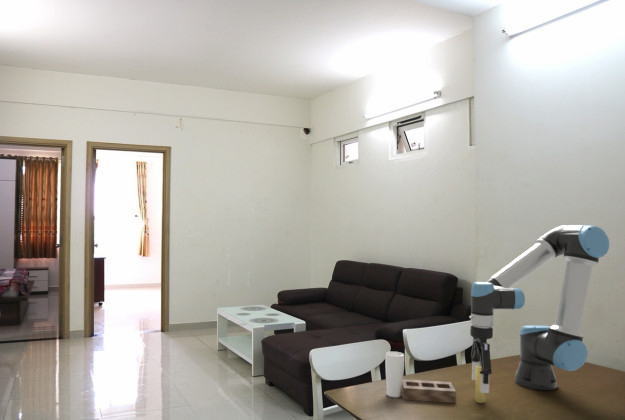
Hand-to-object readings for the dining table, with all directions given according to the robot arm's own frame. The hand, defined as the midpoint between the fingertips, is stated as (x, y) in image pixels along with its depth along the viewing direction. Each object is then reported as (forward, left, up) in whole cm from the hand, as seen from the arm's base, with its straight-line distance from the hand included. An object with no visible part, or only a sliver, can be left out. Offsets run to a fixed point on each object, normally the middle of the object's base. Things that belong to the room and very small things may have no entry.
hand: (480, 386), depth 173 cm
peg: (0, 0, -5) cm, 5 cm away
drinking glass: (+30, 0, -6) cm, 31 cm away
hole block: (+18, -2, -5) cm, 19 cm away
